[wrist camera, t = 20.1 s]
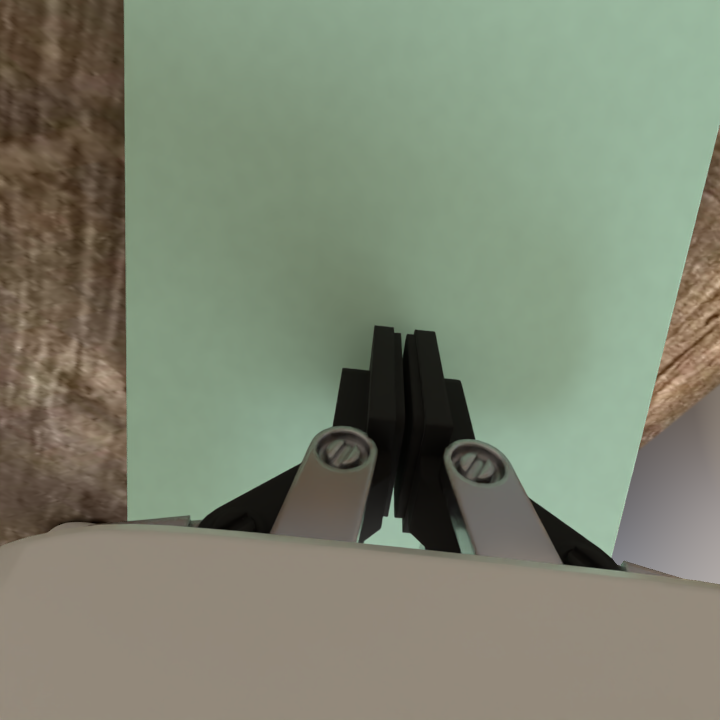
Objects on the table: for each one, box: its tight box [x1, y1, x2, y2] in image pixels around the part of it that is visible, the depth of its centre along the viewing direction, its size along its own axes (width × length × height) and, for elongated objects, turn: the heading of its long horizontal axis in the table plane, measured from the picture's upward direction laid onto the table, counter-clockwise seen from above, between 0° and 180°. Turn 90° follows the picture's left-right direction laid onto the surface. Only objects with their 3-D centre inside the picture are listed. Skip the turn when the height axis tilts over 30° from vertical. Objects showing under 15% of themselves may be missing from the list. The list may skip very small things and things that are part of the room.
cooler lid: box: [124, 0, 720, 557], centre depth 13 cm, size 18×16×1 cm
